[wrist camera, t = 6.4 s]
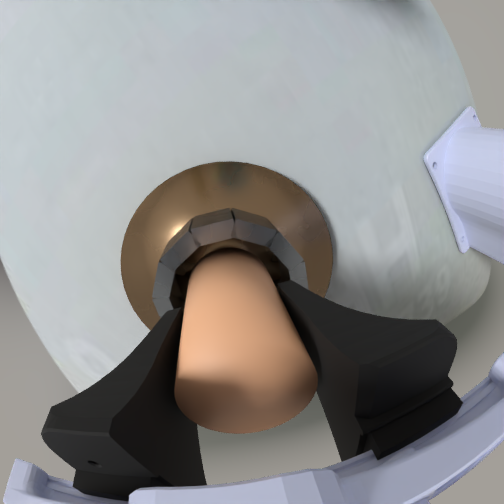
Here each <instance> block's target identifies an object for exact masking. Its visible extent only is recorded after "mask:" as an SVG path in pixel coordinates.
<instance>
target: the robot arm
mask: <svg viewBox="0 0 504 504" xmlns="http://www.w3.org/2000/svg"><path fill="white" fill-rule="evenodd" d="M424 162H425V165H426V167H427V169H428V171H429V173H430V175H431V177H432V179H433V181H434V184H435V186H436V188H437V191H438V193H439V195H440V198H441V200H442V202H443V205H444V207H445V210H446V213H447V215H448V218H449V221H450V223H451V226H452V229H453V232H454V235H455V238H456V241H457V244H458V247H459V251H460V252H462V253H465V252H466V251H467V250H468V249H469V247H471V248H473V249H475V250H477V251H479V252H481V253H483V254H485V255H487V256H489V257H491V258H493V259H494V260H496V261H498V262H500V263H502V264H504V129H496V128H482V127H481V124H480V122H479V119H478V117H477V115H476V112H475V110H474V108H473V107H467V108H466V109H465V110H464V111H463V112H462V114H461V115H460V116H459V117H458V118H457V119H456V120H455V122H454V123H453V124H452V125H451V126H450V127H449V128H448V129H447V131H446V132H445V133H444V134H443V135H442V136H441V137H440V138H439V139H438V140H437V142H436V143H435V144H434V145H433V146H432V147H431V148H430V149H429V150H428V151H427V152H426V153H425V155H424ZM433 164H434V167H433ZM278 290H279V295H280V297H281V299H282V301H283V303H284V305H285V307H286V309H287V311H288V313H289V315H290V317H291V319H292V321H293V323H294V325H295V327H296V329H297V331H298V334H299V336H300V338H301V340H302V342H303V344H304V346H305V348H306V350H307V352H308V354H309V356H310V358H311V360H312V362H313V364H314V367H315V369H316V372H317V376H318V385H317V389H316V391H317V394H318V396H319V399H320V401H321V404H322V407H323V409H324V412H325V415H326V417H327V420H328V423H329V425H330V428H331V431H332V434H333V437H334V440H335V442H336V445H337V449H338V452H339V455H340V458H341V461H342V462H340V463H337V464H334V465H331V466H328V467H326V468H322V469H305V470H299V471H295V472H288V473H282V474H277V475H273V476H268V477H263V478H259V479H252V480H247V481H240V482H233V483H225V484H217V485H207V484H206V479H205V475H204V470H203V464H202V459H201V453H200V446H199V439H198V430H197V424H196V423H195V422H193V421H191V420H190V419H189V418H187V417H186V416H185V415H184V414H183V413H182V411H181V410H180V408H179V407H178V405H177V403H176V399H175V393H174V389H175V379H176V370H177V361H178V353H179V345H180V337H181V330H182V322H183V315H184V314H183V311H182V309H181V308H177V309H173V310H168V311H167V312H166V313H165V314H164V315H163V316H162V317H161V319H160V320H159V321H158V322H157V324H156V325H155V326H154V327H153V328H152V330H151V331H150V332H149V333H148V335H147V336H146V337H145V338H144V339H143V340H142V342H141V343H140V344H139V345H138V346H137V347H136V348H135V349H134V351H133V352H132V353H131V354H130V355H129V356H128V357H127V358H126V359H125V360H124V361H123V362H122V363H120V364H119V365H118V366H117V367H116V368H115V369H114V370H112V371H111V372H110V373H109V374H107V375H106V376H105V377H103V378H102V379H101V380H99V381H98V382H97V383H95V384H94V385H92V386H91V387H89V388H88V389H86V390H84V391H82V392H81V393H79V394H77V395H75V396H74V397H72V398H70V399H68V400H65V401H63V402H61V403H59V404H57V405H55V406H52V407H51V409H50V412H49V414H48V417H47V419H46V422H45V424H44V427H43V429H42V432H41V435H42V438H43V440H44V442H45V443H46V444H47V446H48V447H49V448H50V449H51V450H52V451H53V452H55V453H56V454H57V455H58V456H59V457H61V458H62V459H63V460H64V461H65V462H67V463H68V464H69V465H71V466H72V467H73V468H75V469H76V472H75V477H74V481H73V482H72V481H68V480H64V479H60V478H56V477H53V476H49V475H48V474H47V473H46V472H45V471H43V470H42V469H40V468H39V467H38V466H36V465H34V464H32V463H30V462H27V461H24V460H21V459H18V458H16V459H15V462H14V465H13V468H12V471H11V474H10V477H9V480H8V484H7V488H6V491H5V495H4V499H3V502H4V503H5V504H430V503H429V500H430V499H432V498H434V497H435V496H437V495H438V494H439V493H441V492H443V491H444V490H445V489H447V488H448V487H450V486H451V485H452V484H454V483H455V482H456V481H458V480H459V479H460V478H462V477H463V476H464V475H466V474H467V473H468V472H469V471H470V470H472V469H473V468H474V467H475V466H476V465H478V464H479V463H480V462H481V461H482V460H483V459H484V458H486V457H487V456H488V455H489V454H490V453H491V452H492V451H493V450H494V449H495V448H496V447H497V446H498V445H499V444H500V443H501V442H502V441H503V440H504V352H503V353H502V354H501V355H500V356H499V357H498V358H497V360H496V361H495V362H494V364H493V366H492V367H491V370H490V372H489V375H488V377H486V378H485V379H484V380H483V381H482V382H480V383H479V384H478V385H477V386H476V387H474V388H473V389H472V390H470V391H469V392H468V393H467V394H465V395H464V396H463V397H461V398H459V397H458V396H457V395H456V393H455V392H454V391H453V390H452V389H451V387H452V386H453V381H452V380H451V379H450V378H449V377H448V373H449V371H450V368H451V366H452V363H453V360H454V357H455V354H456V350H457V339H456V337H455V336H454V334H452V333H451V332H450V331H449V330H448V329H447V328H446V327H445V326H443V325H442V324H441V323H440V322H439V321H438V320H407V319H396V318H388V317H381V316H376V315H372V314H367V313H363V312H359V311H356V310H353V309H350V308H347V307H344V306H341V305H339V304H336V303H334V302H332V301H329V300H327V299H325V298H323V297H321V296H319V295H317V294H315V293H313V292H311V291H310V290H308V289H306V288H304V287H303V286H301V285H299V284H298V283H296V282H294V281H292V280H290V281H287V282H283V283H279V284H278Z"/></svg>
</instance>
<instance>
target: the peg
mask: <svg viewBox="0 0 504 504" xmlns="http://www.w3.org/2000/svg"><path fill="white" fill-rule="evenodd" d="M317 385H318V376H317V372H316V369H315V367H314V364H313V362H312V360H311V358H310V356H309V354H308V352H307V350H306V348H305V346H304V344H303V342H302V340H301V338H300V336H299V334H298V331H297V329H296V327H295V325H294V323H293V321H292V319H291V317H290V315H289V313H288V311H287V309H286V307H285V305H284V303H283V301H282V299H281V297H280V295H279V293H278V291H277V289H276V286H275V284H274V282H273V280H272V278H271V276H270V274H269V272H268V270H267V268H266V267H265V265H264V263H263V262H262V261H261V260H260V259H259V258H258V257H257V256H256V255H254V254H253V253H251V252H249V251H246V250H244V249H240V248H233V247H229V248H221V249H217V250H214V251H212V252H210V253H208V254H206V255H205V256H203V257H202V258H201V259H200V260H199V261H198V262H197V263H196V265H195V266H194V268H193V269H192V271H191V274H190V278H189V283H188V289H187V296H186V302H185V309H184V315H183V322H182V330H181V337H180V345H179V353H178V361H177V370H176V379H175V389H174V393H175V399H176V403H177V405H178V407H179V408H180V410H181V411H182V413H183V414H184V415H185V416H186V417H187V418H189V419H190V420H191V421H193V422H195V423H196V424H198V425H200V426H202V427H205V428H207V429H210V430H214V431H218V432H224V433H234V434H240V433H253V432H259V431H263V430H267V429H270V428H273V427H276V426H278V425H281V424H283V423H285V422H287V421H289V420H290V419H291V418H293V417H295V416H296V415H297V414H299V413H300V412H301V411H302V410H303V409H304V408H305V407H306V406H307V405H308V404H309V403H310V401H311V400H312V398H313V397H314V394H315V392H316V389H317Z"/></svg>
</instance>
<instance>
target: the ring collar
mask: <svg viewBox="0 0 504 504" xmlns="http://www.w3.org/2000/svg"><path fill="white" fill-rule="evenodd" d="M229 247H233V248H240V249H244V250H246V251H249V252H251V253H253V254H254V255H256V256H257V257H258V258H259V259H260V260H261V261H262V262H263V263H264V265H265V267H266V268H267V270H268V272H269V274H270V276H271V278H272V280H273V282H274V284H275V286H276V289H277V291H278V293H279V290H278V284H279V283H283V282H287V281H290V280H292V281H294V282H296V283H298V284H299V285H301V286H303V287H304V288H306V289H308V290H310V291H311V292H313V293H315V294H317V295H319V296H321V297H323V298H324V297H325V294H326V291H327V289H328V286H329V282H330V278H331V273H332V264H333V253H332V244H331V238H330V234H329V231H328V228H327V225H326V223H325V221H324V219H323V216H322V214H321V212H320V211H319V209H318V208H317V206H316V205H315V204H314V202H313V201H312V199H311V198H310V197H309V196H308V195H307V194H306V193H305V192H304V191H303V190H302V189H301V188H300V187H298V186H297V185H296V184H295V183H293V182H292V181H291V180H289V179H287V178H286V177H284V176H282V175H281V174H279V173H277V172H274V171H272V170H270V169H267V168H265V167H261V166H257V165H253V164H249V163H242V162H232V161H231V162H214V163H208V164H203V165H199V166H196V167H193V168H190V169H187V170H185V171H183V172H181V173H179V174H177V175H175V176H173V177H171V178H169V179H168V180H166V181H165V182H163V183H162V184H161V185H159V186H158V187H157V188H156V189H155V190H154V191H152V192H151V193H150V194H149V195H148V196H147V197H146V198H145V200H144V201H143V202H142V203H141V205H140V206H139V207H138V209H137V210H136V212H135V214H134V215H133V217H132V219H131V221H130V223H129V225H128V228H127V230H126V233H125V236H124V240H123V245H122V251H121V275H122V280H123V284H124V288H125V291H126V294H127V297H128V299H129V301H130V303H131V305H132V307H133V309H134V311H135V312H136V314H137V315H138V317H139V318H140V319H141V321H142V322H143V323H144V324H145V325H146V326H147V327H148V328H149V330H152V328H153V327H154V326H155V325H156V324H157V322H158V321H159V320H160V319H161V317H162V316H163V315H164V314H165V313H166V312H167V311H168V310H173V309H177V308H181V309H182V311H183V314H184V309H185V302H186V296H187V289H188V283H189V278H190V274H191V271H192V269H193V268H194V266H195V265H196V263H197V262H198V261H199V260H200V259H201V258H202V257H203V256H205V255H206V254H208V253H210V252H212V251H214V250H217V249H221V248H229Z"/></svg>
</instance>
